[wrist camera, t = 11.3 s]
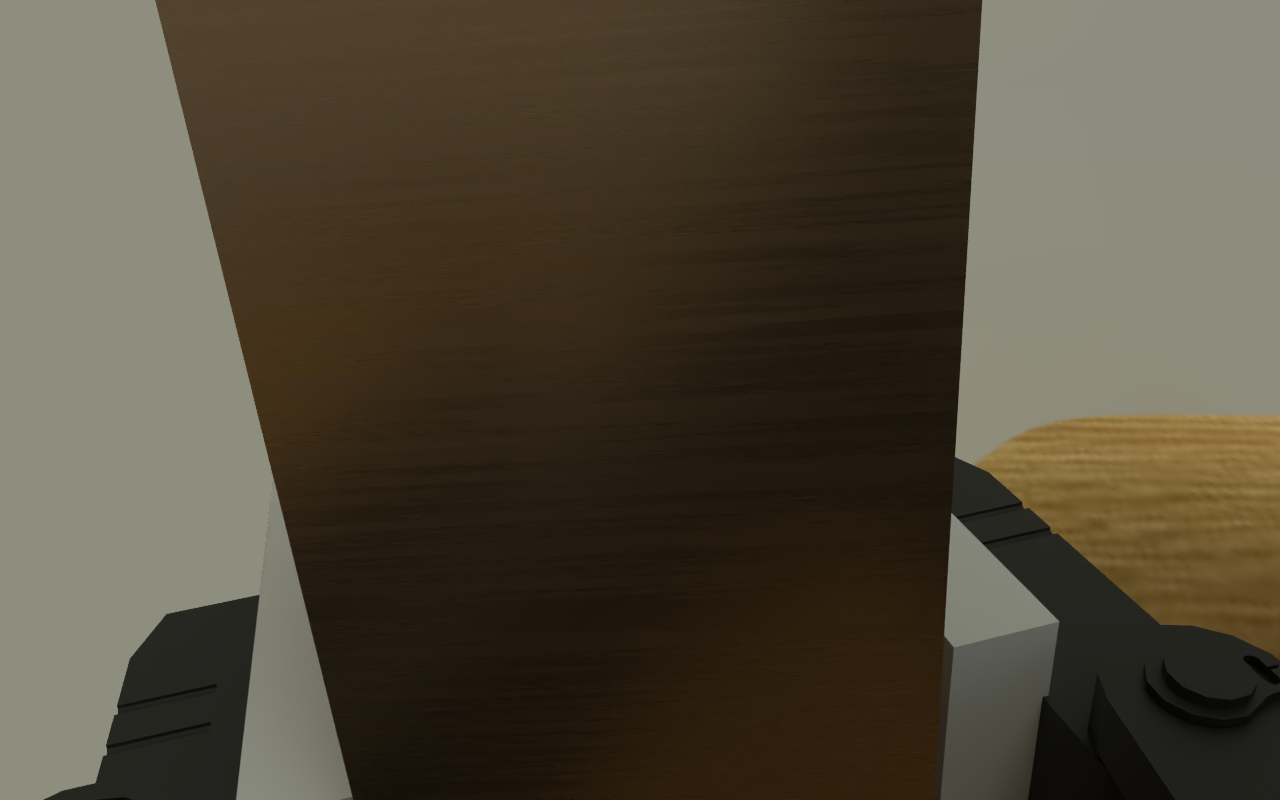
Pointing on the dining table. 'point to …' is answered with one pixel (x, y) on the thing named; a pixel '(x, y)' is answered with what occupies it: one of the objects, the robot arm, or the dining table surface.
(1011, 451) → the dining table surface
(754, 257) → the l-shaped try square
